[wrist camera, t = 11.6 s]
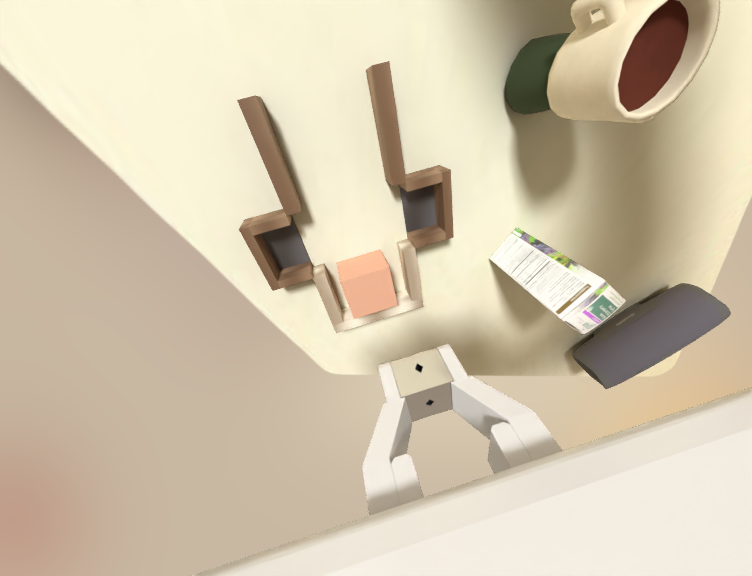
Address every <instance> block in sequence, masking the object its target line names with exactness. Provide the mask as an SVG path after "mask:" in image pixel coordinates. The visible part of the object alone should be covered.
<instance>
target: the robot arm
mask: <svg viewBox="0 0 752 576" xmlns="http://www.w3.org/2000/svg"><path fill="white" fill-rule="evenodd" d="M390 364H391V365H390ZM378 371H379V375H380V378H381V382H382V386H383V390H384V394H385V398H386V402H387V403H384V404H383V406H382V409H381V412H380V415H379V418H378V421H377V424H376V427H375V430H374V433H373V436H372V440H371V442H370V445H369V448H368V451H367V454H366V458H365V460H364V463H363V474H364V482H365V489H366V496H367V503H368V510H369V516H367V517H364V518H361V519H359V520H355V521H352V522H349V523H347V524H344V525H341V526H337V527H334V528H332V529H329V530H325V531H322V532H319V533H316V534H314V535H311V536H308V537H305V538H302V539H299V540H296V541H293V542H290V543H287V544H284V545H281V546H278V547H275V548H272V549H269V550H266V551H263V552H260V553H257V554H254V555H251V556H248V557H245V558H242V559H239V560H236V561H233V562H230V563H227V564H224V565H221V566H218V567H216V568H213V569H209V570H206V571H203V572H200V573H198V574H195V575H192V576H752V387H751V388H748V389H745V390H742V391H739V392H736V393H733V394H730V395H727V396H724V397H721V398H718V399H715V400H712V401H709V402H707V403H703V404H700V405H697V406H695V407H691V408H689V409H685V410H683V411H679V412H677V413H673V414H671V415H668V416H665V417H662V418H659V419H656V420H653V421H650V422H647V423H644V424H641V425H638V426H635V427H632V428H629V429H626V430H623V431H620V432H617V433H614V434H611V435H608V436H605V437H602V438H599V439H596V440H593V441H590V442H587V443H584V444H581V445H578V446H576V447H572V448H569V449H566V450H563V451H562V449H561V448H560V446H559V445H558V444H557V442H556V441H555V440H554V438H553V437H552V435H551V434H550V433H549V431H548V430H547V429H546V427H545V426H544V425H543V424H542V422H541V421H540V419H539V418H538V416H537V415H536V414H535V412H534V411H533V410H531V409H529V408H527V407H526V406H524V405H522V404H520V403H519V402H517V401H515V400H513V399H512V398H510V397H508V396H506V395H505V394H503V393H501V392H500V391H498V390H496V389H494V388H493V387H491V386H489V385H488V384H486V383H484V382H482V381H481V380H479V379H477V378H475V377H474V376H468V375H467V373H466V371H465V370H464V368H463V366H462V365H461V363H460V361H459V360H458V358H457V356H456V355H455V353H454V351H453V349H452V348H451V346H450V345H449V344H445V345H442V346H439V347H435V348H432V349H429V350H426V351H423V352H420V353H417V354H414V355H412V356H409V357H405V358H402V359H398V360H395V361H391V362H388V363H384V364H381V365H378ZM451 409H453V411H455V412H456V413H457V414H458V415H460V416H461V417H462V418H463V419H465V420H466V421H467V422H468V423H470V424H471V425H472V426H473V427H474V428H476V429H477V430H478V431H480V432H481V433H482V434H483V435H484V436H486V437H487V438H488V439H489V440H490V444H489V453H488V462H489V464H490V466H491V468H492V470H493V472H494V474H492V475H489V476H486V477H483V478H480V479H477V480H474V481H471V482H468V483H465V484H462V485H459V486H456V487H453V488H451V489H448V490H444V491H442V492H439V493H436V494H433V495H430V496H427V497H423V493H422V490H421V487H420V483H419V480H418V477H417V474H416V471H415V467H414V464H413V461H412V458H411V456H409V455H407V448H408V442H409V438H410V433H411V427H412V422H414V421H416V420H419V419H422V418H425V417H428V416H431V415H434V414H437V413H441V412H444V411H448V410H451Z"/></svg>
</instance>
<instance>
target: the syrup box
mask: <svg viewBox="0 0 752 576" xmlns="http://www.w3.org/2000/svg"><path fill="white" fill-rule="evenodd" d="M489 259H490V260H491V261H492V262H493V263H495V264H496V265H497V266H498V267H499V268H500V269H501V270H503V271H504V272H505V273H506V274H507V275H509V276H510V277H511V278H512V279H513V280H514V281H516V282H517V283H518V284H519V285H520V286H522V287H523V288H524V289H525V290H526V291H527V292H529V293H530V294H531V295H532V296H533V297H534V298H536V299H537V300H538V301H539V302H540V303H541V304H543V305H544V306H545V307H546V308H548V309H549V310H550V311H551V312H552V313H554V314H555V315H556V316H557V317H558V318H560V319H561V320H562V321H564V322H565V323H566V324H567V325H569V326H570V327H571V328H573V329H574V330H576V331H578V332H579V333H581V334H586V333H587V332H589V331H590V330H592V329H593V328H595V327H597V326H598V325H599V324H601V323H602V322H604V321H605V320H606V319H607V318H609V317H610V316H611V315H612V314H613V313H615V312H616V311H617V310H618V309H619V308H620V307H621V306H622V305H623V304H624V303H625V302H626V300H625V299H624V298H622V297H621V296H620V295H619V294H618V293H617V292H616V291H615V290H614V289H613V288H612V287H611V286H610V285H609V284H608V283H607V282H606V281H605V280H604V279H603V278H601V277H599V276H598V275H596V274H594V273H592V272H591V271H589V270H587V269H586V268H584V267H582V266H581V265H579V264H577V263H576V262H574V261H572V260H571V259H569V258H567V257H566V256H564V255H562V254H561V253H559V252H557V251H556V250H554V249H552V248H551V247H549V246H547V245H546V244H544V243H542V242H541V241H539V240H537V239H535V238H534V237H532V236H530V235H529V234H527V233H525V232H524V231H522V230H520V229H519V228H515V229H514V231H513V232H512V233H511V234H510V235H509V236H508V237H507V238H506V240H505V241H504V242H503V243H502V244H501V245H500V246H499V247H498V249H497V250H496V251H495V252H494V253H493V255H492V256H491V257H490V258H489Z"/></svg>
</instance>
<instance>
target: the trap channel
mask: <svg viewBox="0 0 752 576" xmlns="http://www.w3.org/2000/svg"><path fill="white" fill-rule="evenodd" d="M366 73H367V79H368V84H369V90H370V95H371V101H372V107H373V112H374V118H375V123H376V129H377V134H378V140H379V145H380V151H381V156H382V162H383V167H384V173H385V178H386V181H387V182H388V183H390V184H391V185H392V186H395V185H400V191H401V198H402V204H403V211H404V217H405V224H406V230H407V237H408V239H406V240H403V241H399V242H397V245H398V250H399V256H400V261H401V267H402V272H403V278H404V283H405V289H406V290H403V291H400V292H397V293H395V295H396V299H397V304H398V305H397V306H394V307H391V308H388V309H384V310H381V311H378V312H375V313H372V314H369V315H365V316H362V317H359V318H356V319H354V318H353V315H352V313H351V310H350V307H347V308H344V309H341V307H340V305H339V302H338V299H337V297H336V294H335V291H334V289H333V286H332V284H331V281H330V278H329V276H328V273H327V270H326V268H325V265H324V264H321V265H318V266H314V267H313V266H312V264H311V261H310V259H309V257H308V254H307V252H306V249H305V247H304V244H303V242H302V240H301V237H300V235H299V232H298V230H297V227H296V225H295V223H294V220H293V218H292V214H296V213H299V212H301V202H300V199H299V197H298V194H297V191H296V189H295V186H294V184H293V181H292V178H291V176H290V173H289V170H288V168H287V165H286V162H285V160H284V157H283V155H282V152H281V149H280V147H279V144H278V141H277V139H276V136H275V134H274V131H273V128H272V126H271V123H270V120H269V118H268V115H267V112H266V110H265V107H264V105H263V102H262V99H261V97H259V96H252V97H248V98H244V99H240V100H237V101H238V103H239V105H240V108H241V110H242V112H243V115H244V117H245V120H246V122H247V124H248V127H249V129H250V131H251V134H252V136H253V138H254V141H255V143H256V145H257V148H258V150H259V152H260V155H261V157H262V160H263V162H264V164H265V167H266V169H267V171H268V174H269V176H270V178H271V181H272V183H273V185H274V188H275V190H276V193H277V195H278V197H279V200H280V202H281V204H282V207H283V209H281V210H278V211H274V212H271V213H267V214H263V215H260V216H256V217H253V218H249V219H246V220H244V222H243V223H242V225H241V227H240V229H239V230H240V232H241V234H242V236H243V238H244V240H245V241H246V243H247V245H248V247H249V249H250V250H251V252H252V254H253V256H254V258H255V260H256V261H257V263H258V265H259V267H260V269H261V270H262V272H263V274H264V276H265V278H266V279H267V281H268V283H269V285H270V287H271V289H272V290H277V289H280V288H284V287H287V286H290V285H294V284H297V283H301V282H304V281H307V280H311V279H313V280H314V282H315V284H316V287H317V289H318V291H319V294H320V296H321V299H322V301H323V303H324V306H325V308H326V310H327V313H328V315H329V317H330V320H331V322H332V324H333V327H334V329H335V331H336V333H338V332H342V331H345V330H348V329H351V328H355V327H358V326H361V325H364V324H368V323H371V322H374V321H377V320H380V319H384V318H387V317H390V316H393V315H397V314H400V313H403V312H406V311H410V310H413V309H416V308H419V307H423V301H422V294H421V286H420V279H419V272H418V265H417V257H416V250H415V248H419V247H422V246H426V245H429V244H432V243H436V242H439V241H443V240H446V239H449V238H453V215H452V191H451V170H450V169H447V168H445V167H442V166H440V165H438V166H435V167H431V168H428V169H424V170H420V171H417V172H413V173H410V174H406V175H405V171H404V164H403V157H402V149H401V142H400V135H399V128H398V120H397V113H396V106H395V99H394V92H393V84H392V77H391V70H390V63H389V61H388V62H384V63H380V64H377V65H373V66H371V67H370V68H368V69H367V70H366Z"/></svg>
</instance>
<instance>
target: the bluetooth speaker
mask: <svg viewBox="0 0 752 576" xmlns="http://www.w3.org/2000/svg"><path fill="white" fill-rule="evenodd" d="M729 316H730V310H729V308H728V307H727V306H726V305H725V304H723V303H722V302H720V301H719V300H717V299H716V298H715V297H714V296H712V295H711V294H709V293H707V292H706V291H704V290H703V289H701V288H699V287H697V286H694V285H691V284H685V283H682V284H678V285H676V286H674V287H672V288H670V289H668V290H666V291H665V292H663V293H661V294H659V295H658V296H656V297H654V298H653V299H650V300H649V301H647V302H645V303H644V304H641V303H636V304H634V305H632V306H630V307H629V308H627V309H625V310H624V311H622V312H621V313H619V314H618V315H616V316H615V317H613V318H612V319H610V320H609V321H607V322H606V323H604V324H603V325H601V326H600V327H599V328H597V329H596V330H595V331H594V332H593V335H594V337H592V338H591V339H590V340H589V341H587V342H586V343H585V344H583V345H582V346H581V347H579V348H578V349H577V350H576V351H575V352H573V353H572V355H573V357H574V358H575V360H576V361H577V363H578V364H579V365H580V366H581V367H582V368H583V369H584V370H585V371H586V372H587V373H588V374H589V375H590V376H591V377H592V378H594V379H595V380H596V381H598V382H599V383H600V384H601V385H603V386H604V388H605V389H608V388H611V387H613V386H615V385H618V384H620V383H622V382H624V381H626V380H627V379H629V378H631V377H633V376H635V375H637V374H639V373H641V372H643V371H644V370H646V369H648V368H650V367H652V366H653V365H655V364H657V363H659V362H660V361H662V360H664V359H666V358H667V357H669V356H671V355H672V354H674V353H676V352H677V351H679V350H681V349H682V348H684V347H685V346H687V345H688V344H690V343H692V342H693V341H695V340H696V339H698V338H699V337H701V336H702V335H704V334H706V333H707V332H709V331H710V330H711V329H713V328H715V327H716V326H718V325H719V324H720V323H722V322H723V321H724V320H725V319H727V318H728V317H729Z"/></svg>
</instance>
